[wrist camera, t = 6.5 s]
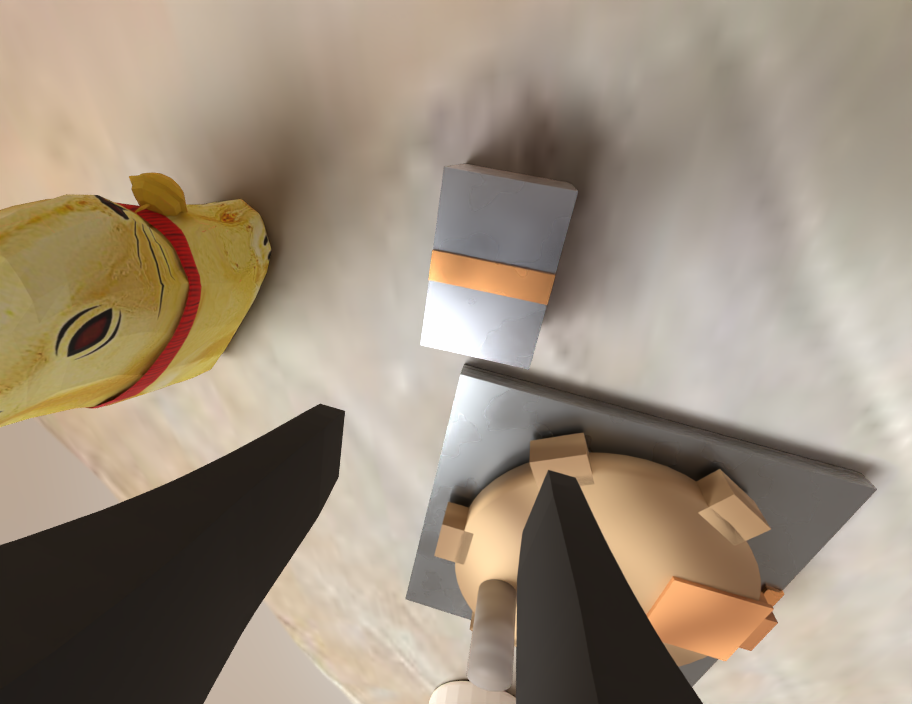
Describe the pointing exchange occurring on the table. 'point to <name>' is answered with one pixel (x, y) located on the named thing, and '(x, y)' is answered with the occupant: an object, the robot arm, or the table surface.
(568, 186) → the link block
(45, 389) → the chocolate bunny
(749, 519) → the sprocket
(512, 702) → the mug
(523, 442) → the plate
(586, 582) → the robot arm
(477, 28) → the table surface
